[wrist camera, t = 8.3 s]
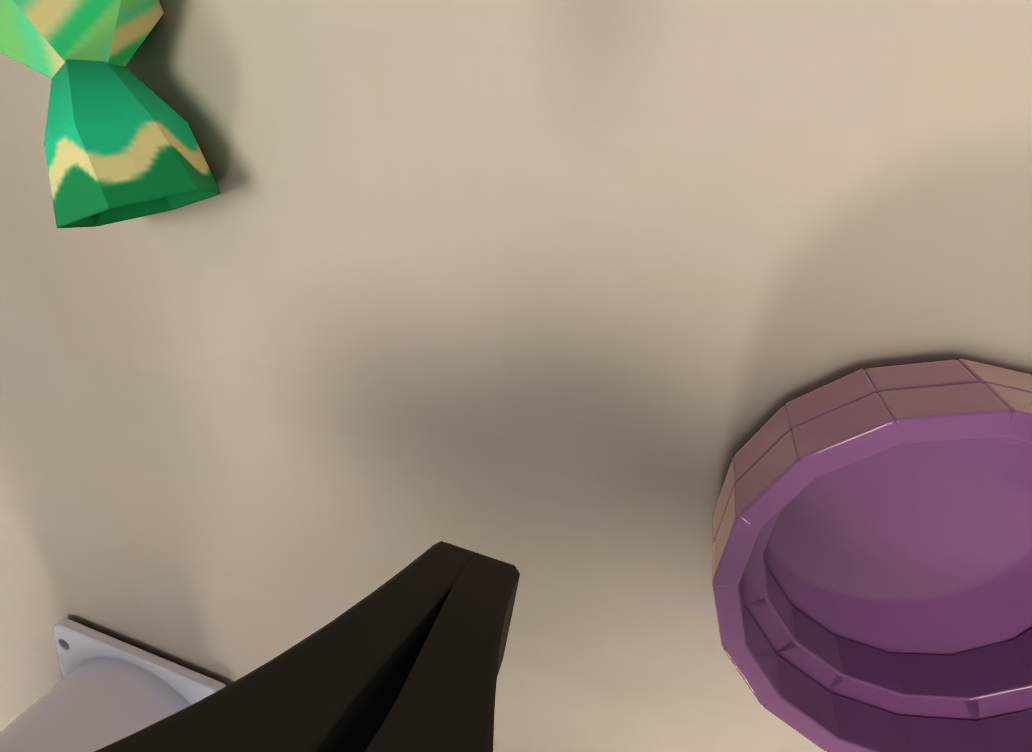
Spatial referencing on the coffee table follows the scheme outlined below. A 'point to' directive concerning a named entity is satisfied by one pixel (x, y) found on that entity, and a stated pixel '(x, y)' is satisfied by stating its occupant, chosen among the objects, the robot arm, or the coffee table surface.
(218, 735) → the robot arm
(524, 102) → the coffee table surface
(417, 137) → the coffee table surface
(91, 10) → the candy
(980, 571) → the dish lilac
